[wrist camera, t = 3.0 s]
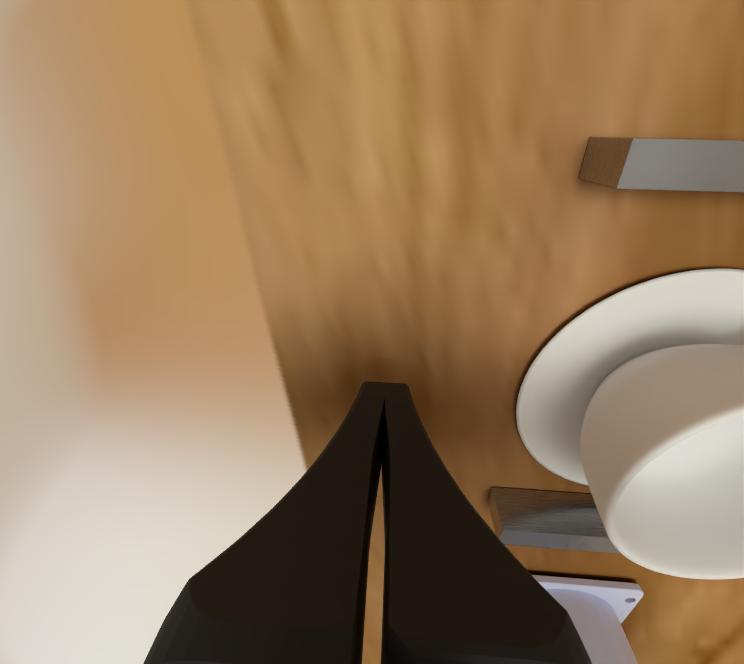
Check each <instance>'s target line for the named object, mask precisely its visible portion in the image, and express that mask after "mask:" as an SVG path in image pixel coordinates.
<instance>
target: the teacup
mask: <svg viewBox="0 0 744 664" xmlns="http://www.w3.org/2000/svg"><path fill="white" fill-rule="evenodd" d="M516 419H517V427H518V431H519V434H520V437H521V439H522V442H523V444H524V446H525V447H526V449H527V450H528V451H529V453H530V454H531V455H532V457H533V458H534V459H535V460H536V461H537V462H538V463H540V464H541V465H542V466H543V467H545V468H546V469H547V470H549V471H550V472H552V473H554V474H556V475H558V476H560V477H562V478H564V479H566V480H569V481H572V482H575V483H578V484H582V485H586V486H589V488H590V491H591V494H592V496H593V499H594V501H595V504H596V507H597V509H598V512H599V515H600V517H601V520H602V523H603V526H604V528H605V531H606V533H607V535H608V537H609V539H610V541H611V542H612V544H613V545H614V546H615V547H616V549H617V550H618V551H619V552H620V553H621V554H623V555H624V556H625V557H627V558H628V559H630V560H631V561H633V562H635V563H636V564H638V565H640V566H643V567H645V568H647V569H650V570H653V571H656V572H659V573H663V574H667V575H672V576H677V577H684V578H694V579H734V578H744V270H740V269H701V270H692V271H686V272H681V273H675V274H671V275H666V276H662V277H658V278H655V279H652V280H649V281H646V282H643V283H640V284H637V285H635V286H632V287H630V288H627V289H625V290H623V291H620V292H618V293H616V294H614V295H612V296H610V297H608V298H606V299H605V300H603V301H601V302H599V303H597V304H596V305H594V306H592V307H591V308H589V309H588V310H586V311H585V312H583V313H582V314H580V315H579V316H578V317H576V318H575V319H574V320H572V321H571V322H570V323H569V324H567V325H566V326H565V327H564V328H563V329H562V330H560V331H559V332H558V333H557V334H556V335H555V336H554V337H553V338H552V339H551V340H550V341H549V342H548V343H547V345H546V346H545V347H544V348H543V349H542V351H541V352H540V353H539V355H538V356H537V357H536V359H535V360H534V362H533V363H532V365H531V366H530V368H529V370H528V372H527V374H526V376H525V378H524V380H523V383H522V385H521V388H520V391H519V395H518V400H517V406H516Z"/></svg>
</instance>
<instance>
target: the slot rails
mask: <svg viewBox="0 0 744 664" xmlns="http://www.w3.org/2000/svg"><path fill="white" fill-rule="evenodd" d="M579 179H583V180H587V181H590V182H594V183H598V184H601V185H605V186H609V187H613V188H616V189H649V190H685V191H720V192H744V140H708V139H661V138H614V137H590V139H589V142H588V146H587V149H586V153H585V157H584V160H583V164H582V167H581V171H580V174H579ZM488 504H489V508H490V512H491V517H492V521H493V525H494V529H495V533H496V536H497V537H498V538H499V540H500V541H501V542H502V543H503V544H504V545H517V546H530V547H543V548H556V549H569V550H581V551H594V552H607V553H620V552H619V551H618V550H617V549H616V547H615V546H614V545H613V544H612V542H611V541H610V539H609V537H608V535H607V533H606V531H605V528H604V526H603V523H602V520H601V517H600V515H599V512H598V509H597V507H596V504H595V501H594V499H593V496H592V494H583V493H568V492H554V491H540V490H526V489H511V488H497V487H492V488H491V492H490V495H489V499H488ZM620 554H621V553H620Z"/></svg>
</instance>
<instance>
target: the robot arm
mask: <svg viewBox="0 0 744 664" xmlns="http://www.w3.org/2000/svg"><path fill="white" fill-rule="evenodd" d="M381 463H382V484H383V506H384V528H385V566H384V594H383V621H382V647H381V664H638V662H637V660H636V658H635V655H634V653H633V651H632V649H631V646H630V644H629V642H628V640H627V637H626V635H625V633H624V631H623V628H622V626H621V624H622V622H623V621H624V620H625V618H626V617H627V616H628V615H629V613H630V612H631V611H632V609H633V608H634V607H635V606H636V604H637V603H638V602H639V600H640V599H641V598H642V597H643V594H644V593H643V591H642V589H641V587H640V586H639V585H638V584H636V583H628V582H616V581H604V580H592V579H579V578H567V577H555V576H543V575H531V574H530V573H529V572H528V571H527V570H526V569H525V568H524V567H523V565H522V564H521V563H520V562H519V561H518V560H517V559H516V558H515V557H514V556H513V554H512V553H511V552H510V551H509V550H508V549H507V548H506V547H505V546H504V544H503V543H502V542H501V541H500V540H499V538H498V537H497V536H496V535H495V533H494V532H493V531H492V530H491V529H490V527H489V526H488V525H487V524H486V523H485V521H484V520H483V519H482V518H481V516H480V515H479V514H478V513H477V512H476V510H475V509H474V508H473V506H472V505H471V504H470V502H469V501H468V499H467V498H466V497H465V495H464V494H463V493H462V491H461V490H460V488H459V487H458V485H457V484H456V482H455V481H454V479H453V478H452V476H451V475H450V473H449V472H448V470H447V469H446V467H445V465H444V464H443V462H442V460H441V459H440V457H439V455H438V453H437V452H436V450H435V448H434V446H433V445H432V443H431V441H430V439H429V437H428V435H427V433H426V431H425V429H424V427H423V425H422V423H421V420H420V418H419V416H418V413H417V411H416V409H415V406H414V403H413V401H412V398H411V394H410V391H409V387H408V386H407V385H406V384H400V383H382V382H364V383H363V384H362V385H361V388H360V391H359V393H358V395H357V398H356V400H355V402H354V404H353V405H352V407H351V409H350V411H349V413H348V414H347V416H346V418H345V419H344V421H343V423H342V424H341V426H340V427H339V429H338V431H337V432H336V434H335V435H334V436H333V438H332V439H331V441H330V442H329V443H328V445H327V446H326V448H325V449H324V451H323V452H322V453H321V455H320V456H319V457H318V458H317V460H316V461H315V462H314V463H313V465H312V466H311V467H310V468H309V469H308V471H307V472H306V473H305V474H304V475H303V477H302V478H301V479H300V480H299V481H298V482H297V483H296V484H295V485H294V487H292V489H291V490H290V491H289V492H288V493H287V494H286V495H285V496H284V497H283V498H282V499H281V500H280V501H279V502H278V503H277V504H276V505H275V506H274V507H273V508H272V509H271V510H270V511H269V512H268V513H267V514H266V515H265V516H264V517H263V518H261V519H260V520H259V521H258V522H257V523H256V524H255V525H254V526H253V527H252V528H251V529H249V530H248V531H247V532H246V533H245V534H244V535H243V536H242V537H241V538H239V539H238V540H237V541H236V542H235V543H234V544H232V545H231V546H230V547H229V548H227V549H226V550H225V551H224V552H223V553H221V554H220V555H219V556H218V557H216V558H215V559H214V560H213V561H211V562H210V563H209V564H208V565H206V566H205V567H204V568H203V569H201V570H200V571H199V572H198V573H196V574H195V575H194V576H192V577H191V578H190V579H189V580H188V582H187V583H186V585H185V587H184V588H183V590H182V591H181V593H180V595H179V596H178V598H177V600H176V601H175V603H174V605H173V607H172V608H171V610H170V611H169V613H168V615H167V616H166V618H165V620H164V622H163V624H162V626H161V628H160V630H159V632H158V634H157V636H156V638H155V640H154V643H153V645H152V647H151V649H150V651H149V653H148V655H147V657H146V660H145V661H144V664H362V651H363V635H364V620H365V604H366V589H367V574H368V559H369V547H370V538H371V530H372V524H373V517H374V510H375V504H376V497H377V490H378V484H379V477H380V470H381Z"/></svg>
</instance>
